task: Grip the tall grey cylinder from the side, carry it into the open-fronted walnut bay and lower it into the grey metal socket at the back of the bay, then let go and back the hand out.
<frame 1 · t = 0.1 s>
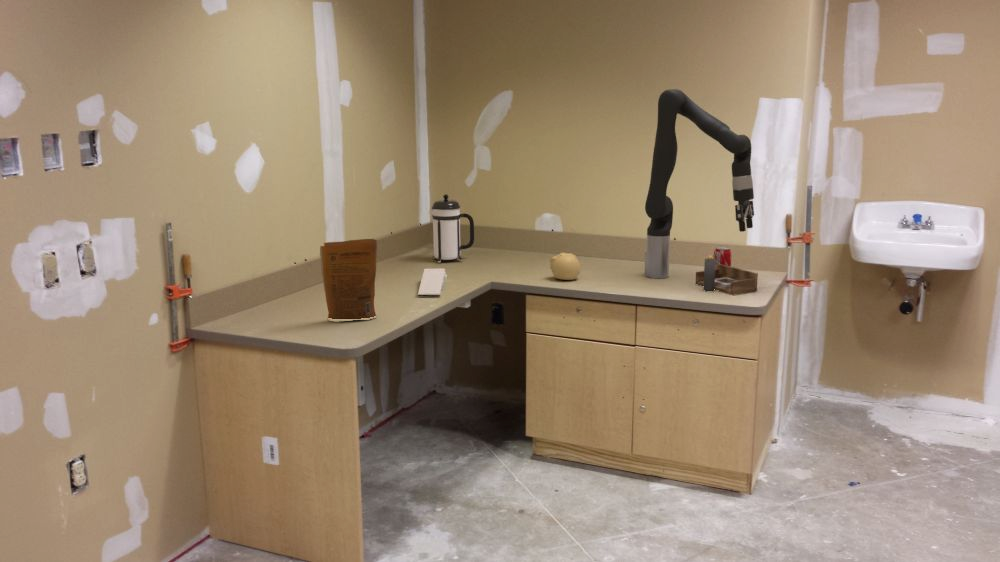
hand: (746, 229, 342), 22 cm above the worktop, tool pointing down, fingers open, 8 cm apart
tall grey cylinder: (708, 290, 340), on the worktop
soda can: (721, 277, 364), on the worktop
white boxy piece: (432, 290, 347), on the worktop
bay: (725, 287, 344), on the worktop
tan round lump: (565, 279, 362), on the worktop
pancake mix bag: (352, 321, 302), on the worktop
coffee press: (449, 260, 401), on the worktop
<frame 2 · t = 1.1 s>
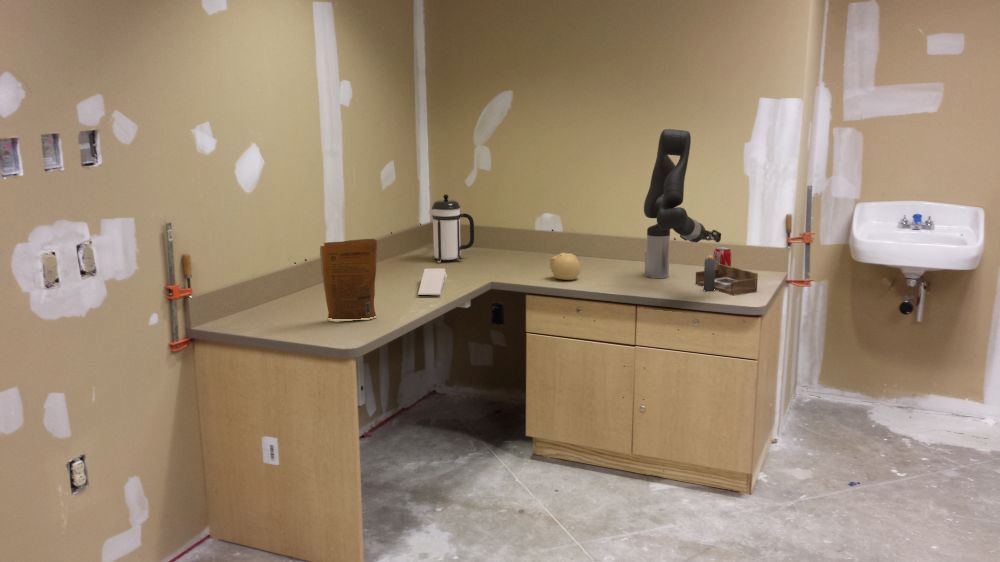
hand: (707, 239, 335), 20 cm above the worktop, tool tilted 70°, fingers open, 8 cm apart
nothing on the worktop moved.
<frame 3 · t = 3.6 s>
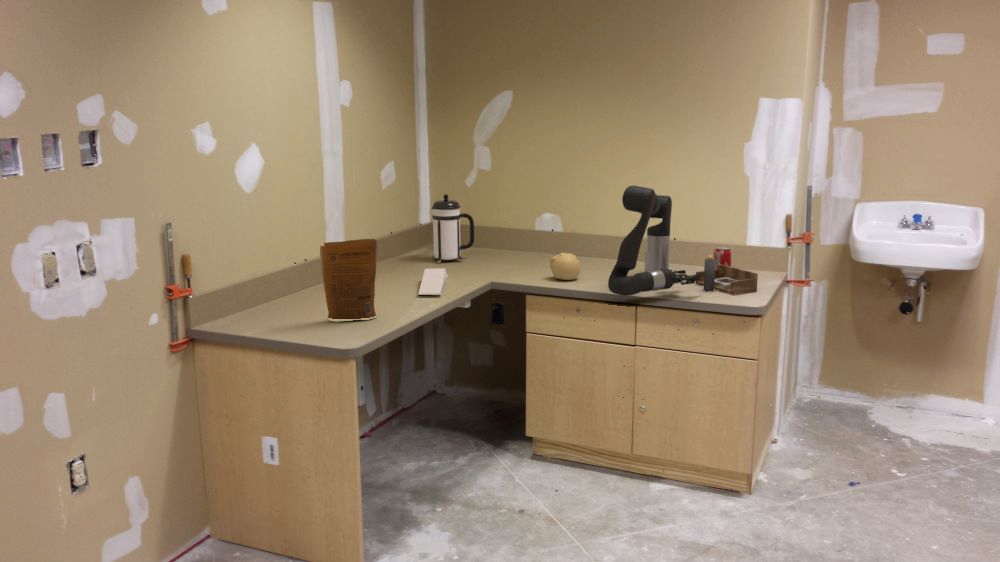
hand: (692, 274, 335), 7 cm above the worktop, tool horizontal, fingers open, 8 cm apart
nothing on the worktop moved.
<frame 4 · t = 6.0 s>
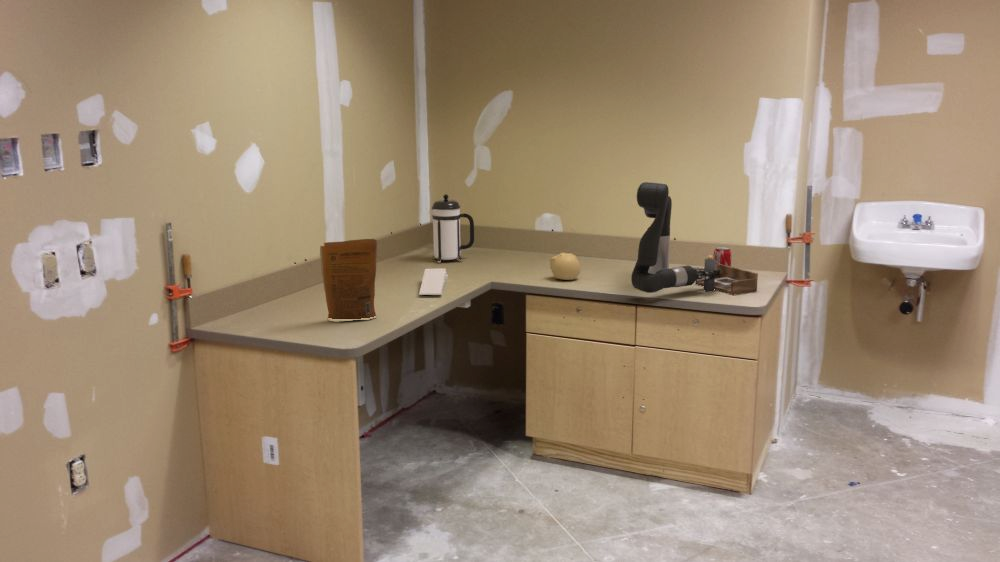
hand: (714, 271, 340), 7 cm above the worktop, tool horizontal, fingers closed on tall grey cylinder, 4 cm apart
tall grey cylinder: (708, 290, 340), on the worktop, touching gripper
everything else where it was.
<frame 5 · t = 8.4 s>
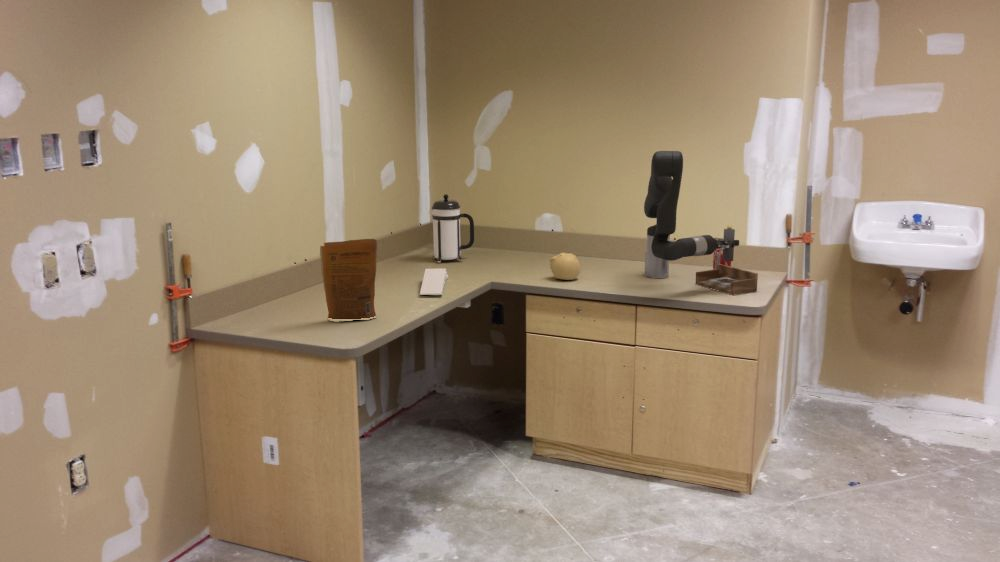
hand: (734, 241, 342), 18 cm above the worktop, tool horizontal, fingers closed on tall grey cylinder, 4 cm apart
tall grey cylinder: (727, 260, 342), point 11 cm above the worktop, touching gripper
everything else where it was.
when the fingers open (9 cm above the worktop, at t = 10.7 s): tall grey cylinder stays where it is, resting on bay.
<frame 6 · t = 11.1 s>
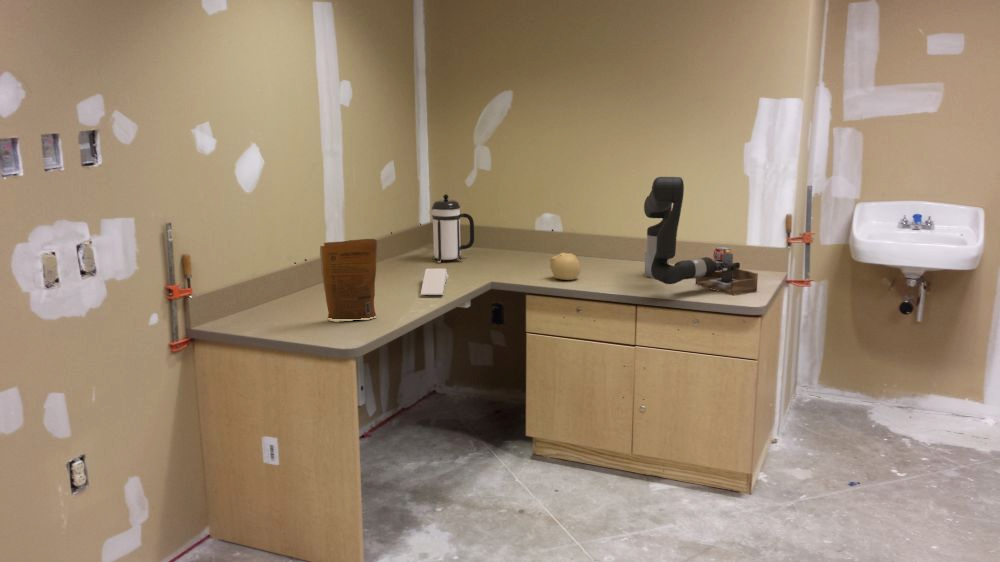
hand: (731, 263, 343), 9 cm above the worktop, tool horizontal, fingers open, 7 cm apart
tall grey cylinder: (726, 284, 344), point 1 cm above the worktop, touching bay
everything else where it was.
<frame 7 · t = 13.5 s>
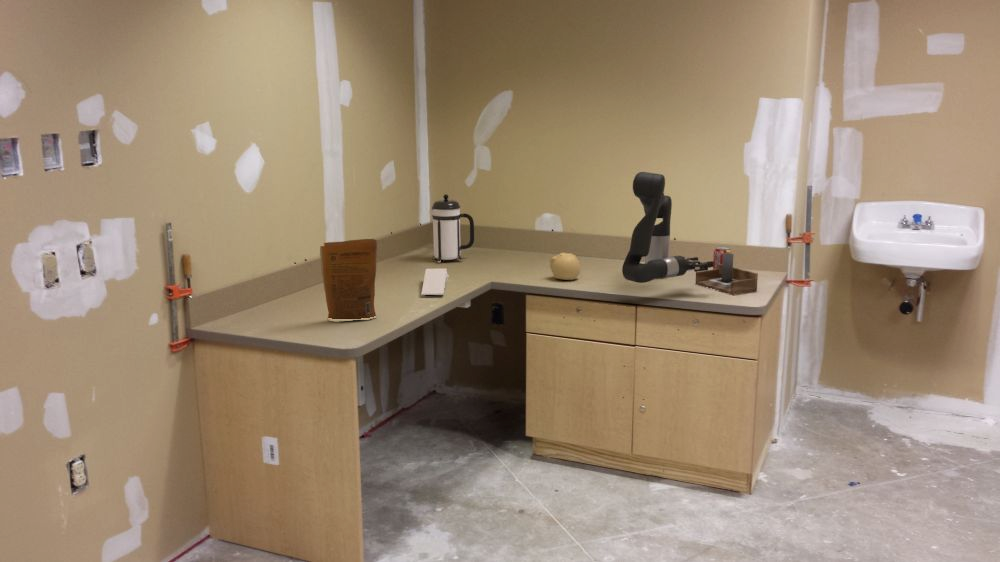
hand: (705, 261, 337), 11 cm above the worktop, tool horizontal, fingers open, 8 cm apart
nothing on the worktop moved.
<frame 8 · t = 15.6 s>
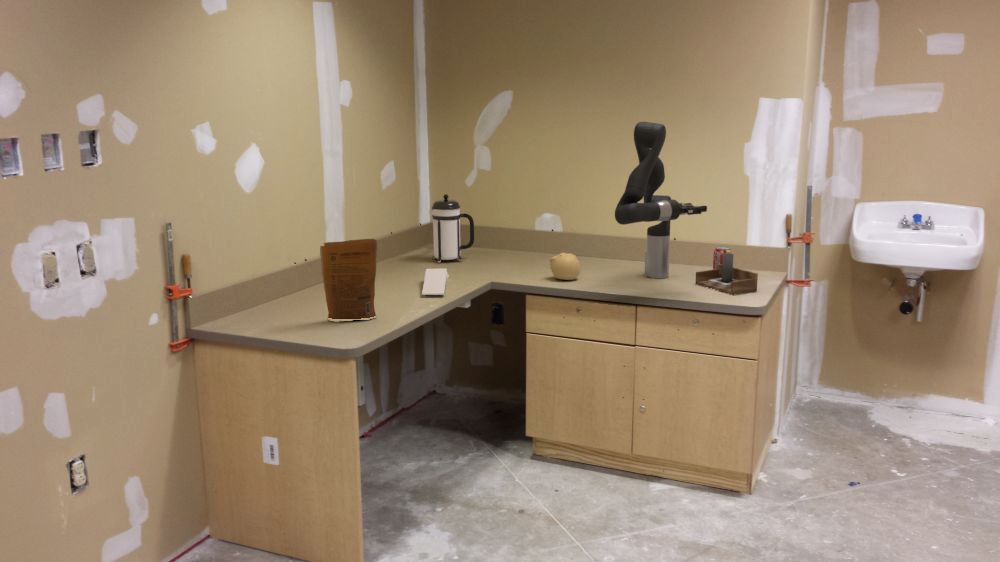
hand: (698, 207, 334), 32 cm above the worktop, tool horizontal, fingers open, 8 cm apart
at the end: tall grey cylinder 0.1 cm off-centre on the bay, point 1.2 cm above the bay's base; tall grey cylinder tilted 0°; the gripper is holding nothing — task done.
